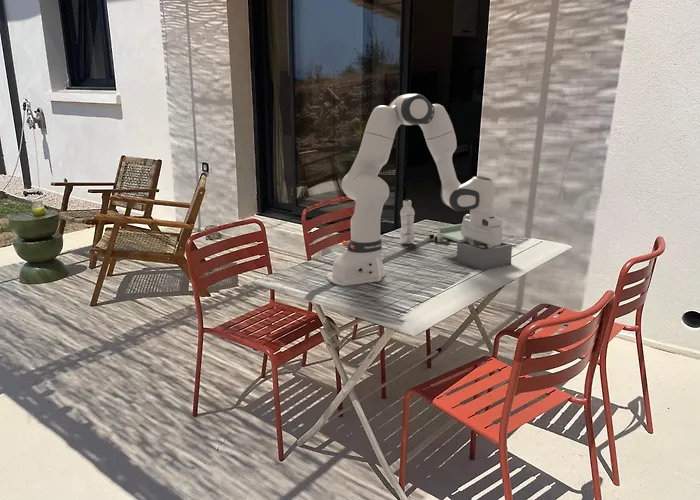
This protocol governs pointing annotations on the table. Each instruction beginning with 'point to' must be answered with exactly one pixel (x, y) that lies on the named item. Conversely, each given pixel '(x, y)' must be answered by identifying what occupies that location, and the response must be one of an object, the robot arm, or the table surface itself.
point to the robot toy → (437, 238)
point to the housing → (484, 255)
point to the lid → (452, 233)
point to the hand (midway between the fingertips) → (480, 251)
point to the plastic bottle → (407, 223)
